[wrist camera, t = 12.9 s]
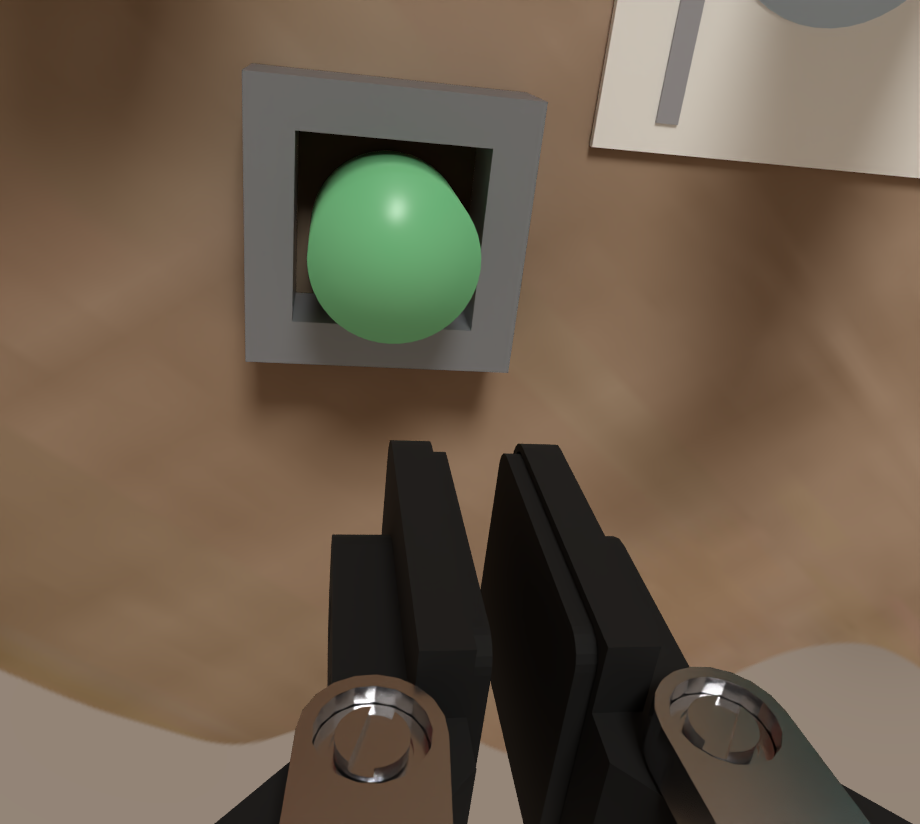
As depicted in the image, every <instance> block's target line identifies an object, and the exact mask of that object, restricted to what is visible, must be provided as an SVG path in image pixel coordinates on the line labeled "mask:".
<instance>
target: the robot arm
mask: <svg viewBox="0 0 920 824" xmlns="http://www.w3.org/2000/svg"><path fill="white" fill-rule="evenodd" d="M490 681H491V685H492V690H493V694H494V698H495V702H496V707H497V711H498V715H499V720H500V724H501V728H502V733H503V737H504V741H505V746H506V750H507V754H508V759H509V763H510V767H511V772H512V775H513V780H514V784H515V788H516V793H517V797H518V802H519V806H520V810H521V815H522V818H523V823H524V824H912V823H910V822H908V821H906V820H905V819H903V818H901V817H899V816H897V815H896V814H894V813H892V812H890V811H888V810H887V809H885V808H883V807H881V806H880V805H878V804H876V803H874V802H872V801H871V800H869V799H867V798H865V797H863V796H861V795H860V794H858V793H856V792H854V791H853V790H851V789H849V788H847V787H846V786H844V785H842V784H840V782H839V781H838V780H837V779H836V777H835V776H834V775H833V773H832V772H831V770H830V769H829V768H828V766H827V765H826V764H825V763H824V762H823V760H822V758H821V757H820V756H819V754H818V753H817V752H816V751H815V749H814V748H813V747H812V745H811V744H810V743H809V741H808V740H807V738H806V737H805V736H804V735H803V733H802V732H801V731H800V729H799V728H798V727H797V725H796V724H795V723H794V721H793V720H792V719H791V717H790V716H789V715H788V713H787V712H786V711H785V710H784V709H783V708H782V706H781V705H780V704H779V703H778V702H777V701H776V700H775V699H774V698H773V697H772V696H771V695H770V694H768V693H767V692H766V691H764V690H763V689H761V688H760V687H759V686H757V685H756V684H754V683H753V682H751V681H749V680H747V679H744V678H742V677H740V676H738V675H736V674H734V673H731V672H727V671H723V670H719V669H715V668H711V667H689V665H688V663H687V662H686V660H685V658H684V656H683V654H682V652H681V650H680V649H679V647H678V645H677V643H676V641H675V639H674V637H673V636H672V634H671V632H670V630H669V628H668V626H667V624H666V623H665V621H664V619H663V617H662V615H661V613H660V611H659V610H658V608H657V606H656V604H655V602H654V600H653V598H652V597H651V595H650V593H649V591H648V589H647V587H646V585H645V583H644V582H643V580H642V578H641V576H640V574H639V572H638V570H637V569H636V567H635V565H634V563H633V561H632V559H631V557H630V556H629V554H628V552H627V550H626V548H625V546H624V545H623V543H622V542H621V541H620V539H619V538H616V537H614V536H605V535H604V533H603V531H602V529H601V527H600V525H599V523H598V521H597V520H596V518H595V516H594V514H593V512H592V510H591V508H590V506H589V504H588V502H587V500H586V498H585V496H584V494H583V492H582V490H581V488H580V486H579V484H578V482H577V480H576V478H575V476H574V475H573V473H572V471H571V469H570V467H569V465H568V463H567V461H566V459H565V457H564V455H563V453H562V451H561V449H560V448H559V446H558V445H546V444H517V446H516V447H515V450H514V453H513V454H503V455H502V456H501V459H500V464H499V470H498V477H497V483H496V490H495V497H494V503H493V510H492V517H491V523H490V530H489V537H488V543H487V550H486V557H485V563H484V570H483V577H482V583H481V590H480V587H479V583H478V579H477V575H476V571H475V567H474V563H473V559H472V555H471V551H470V547H469V543H468V539H467V535H466V531H465V527H464V523H463V519H462V515H461V511H460V507H459V503H458V499H457V495H456V491H455V487H454V483H453V479H452V475H451V471H450V467H449V463H448V459H447V455H446V452H433V449H432V445H431V442H430V441H398V440H390V443H389V449H388V460H387V473H386V485H385V498H384V511H383V524H382V535H332V543H331V564H330V588H329V618H328V687H326V688H325V689H323V690H322V691H320V692H319V693H317V694H316V695H315V696H314V697H313V698H312V699H311V701H310V702H309V703H308V704H307V705H306V706H305V708H304V709H303V710H302V713H301V715H300V718H299V721H298V724H297V726H296V729H295V735H294V741H293V747H292V753H291V759H290V762H289V763H288V764H287V765H285V766H284V767H283V768H282V769H280V770H279V771H278V772H277V773H276V774H274V775H273V776H272V777H271V778H269V779H268V780H267V781H266V782H265V783H263V784H262V785H261V786H260V787H259V788H257V789H256V790H255V791H254V792H252V793H251V794H250V795H249V796H248V797H246V798H245V799H244V800H243V801H242V802H240V803H239V804H238V805H237V806H236V807H235V808H233V809H232V810H231V811H230V812H228V813H227V814H226V815H225V816H224V817H222V818H221V819H220V820H219V821H217V822H216V823H215V824H467V822H468V816H469V810H470V804H471V798H472V792H473V786H474V780H475V774H476V763H477V757H478V751H479V745H480V739H481V733H482V727H483V721H484V715H485V709H486V703H487V697H488V691H489V686H490Z"/></svg>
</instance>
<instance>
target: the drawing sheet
mask: <svg viewBox="0 0 920 824" xmlns="http://www.w3.org/2000/svg"><path fill="white" fill-rule="evenodd" d="M590 146H591V147H598V148H608V149H619V150H629V151H640V152H650V153H660V154H671V155H681V156H692V157H702V158H713V159H723V160H734V161H744V162H755V163H765V164H776V165H786V166H797V167H807V168H817V169H828V170H838V171H849V172H859V173H870V174H880V175H891V176H901V177H912V178H920V0H615V1H614V7H613V13H612V19H611V24H610V30H609V36H608V42H607V48H606V53H605V59H604V65H603V71H602V76H601V82H600V88H599V94H598V100H597V105H596V111H595V117H594V123H593V129H592V134H591V140H590Z"/></svg>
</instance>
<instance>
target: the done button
mask: <svg viewBox="0 0 920 824" xmlns="http://www.w3.org/2000/svg"><path fill="white" fill-rule="evenodd" d="M307 267H308V274H309V279H310V282H311V285H312V289H313V291H314V293H315V295H316V297H317V299H318V301H319V303H320V304H321V306H322V307H323V309H324V310H325V311H326V312H327V314H328V315H329V316H330V317H331V318H332V319H333V320H334V321H335V322H336V323H337V324H339V325H340V326H341V327H343V328H344V329H346V330H347V331H349V332H351V333H352V334H354V335H356V336H358V337H361V338H364V339H366V340H370V341H374V342H378V343H387V344H402V343H409V342H414V341H418V340H422V339H424V338H427V337H429V336H432V335H434V334H435V333H437V332H439V331H441V330H442V329H444V328H445V327H446V326H448V325H449V324H450V323H452V322H453V321H454V320H455V319H456V318H457V317H458V316H459V315H460V314H461V312H462V311H463V310H464V309H465V307H466V306H467V304H468V303H469V301H470V300H471V298H472V295H473V293H474V291H475V289H476V286H477V283H478V280H479V275H480V270H481V247H480V242H479V238H478V234H477V231H476V228H475V226H474V224H473V222H472V220H471V218H470V216H469V214H468V213H467V211H466V210H465V208H464V206H463V205H462V203H461V202H460V200H459V199H458V197H457V196H456V194H455V193H454V191H453V189H452V188H451V186H450V185H449V184H448V182H447V181H446V179H445V178H444V177H443V176H442V175H441V174H440V173H439V172H438V171H437V170H436V169H435V168H434V167H433V166H431V165H430V164H428V163H427V162H425V161H424V160H422V159H420V158H418V157H416V156H413V155H410V154H407V153H404V152H398V151H389V150H381V151H372V152H368V153H364V154H361V155H359V156H356V157H354V158H352V159H350V160H348V161H346V162H345V163H343V164H342V165H341V166H339V167H338V168H337V169H335V170H334V171H333V172H332V174H331V175H330V176H329V177H328V178H327V179H326V181H325V182H324V183H323V185H322V186H321V188H320V190H319V192H318V194H317V196H316V199H315V202H314V205H313V209H312V215H311V224H310V233H309V242H308V252H307Z"/></svg>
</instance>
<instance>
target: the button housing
mask: <svg viewBox="0 0 920 824" xmlns="http://www.w3.org/2000/svg"><path fill="white" fill-rule="evenodd" d="M547 104H548V102H547V101H544V100H542V99H540V98H538V97H535V96H533V95H531V94H529V93H526V92H517V91H507V90H498V89H489V88H479V87H470V86H460V85H451V84H442V83H432V82H423V81H413V80H404V79H395V78H385V77H376V76H366V75H357V74H348V73H338V72H329V71H319V70H310V69H301V68H291V67H282V66H272V65H263V64H254V63H251V64H250V65H248V66H247V67H245V68H244V69H243V70H242V117H243V196H244V276H245V355H246V362H269V363H292V364H315V365H339V366H362V367H385V368H409V369H432V370H455V371H479V372H502V373H508V369H509V363H510V356H511V349H512V342H513V335H514V329H515V322H516V315H517V308H518V301H519V295H520V288H521V281H522V274H523V267H524V261H525V254H526V247H527V240H528V233H529V227H530V220H531V213H532V206H533V199H534V193H535V186H536V179H537V172H538V165H539V159H540V152H541V145H542V138H543V131H544V125H545V118H546V111H547ZM299 131H307V132H318V133H329V134H339V135H350V136H361V137H372V138H382V139H393V140H404V141H415V142H425V143H436V144H447V145H458V146H468V147H476V155H475V164H474V173H473V182H472V191H471V200H470V209H469V216H470V218H471V220H472V222H473V224H474V226H475V228H476V231H477V234H478V238H479V242H480V247H481V270H480V275H479V280H478V283H477V286H476V289H475V291H474V293H473V295H472V298H471V300H470V301H469V303H468V304H467V306H466V307H465V309H464V310H463V311H462V312H461V314H460V315H459V316H458V317H457V318H456V319H455V320H454V321H453V322H452V323H450V324H449V325H448V326H446V327H445V328H444V329H442V330H441V331H439V332H437V333H435V334H434V335H432V336H429V337H427V338H424V339H422V340H418V341H414V342H409V343H402V344H387V343H378V342H374V341H370V340H366V339H364V338H361V337H358V336H356V335H354V334H352V333H351V332H349V331H347V330H346V329H344V328H343V327H341V326H340V325H339V324H337V323H336V322H335V321H334V320H333V319H332V318H331V317H330V316H329V315H328V314H327V312H326V311H325V310H324V309H323V307H322V306H321V304H320V303H319V301H318V299H317V297H316V295H315V294H313V293H296V262H297V203H298V145H299Z"/></svg>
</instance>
